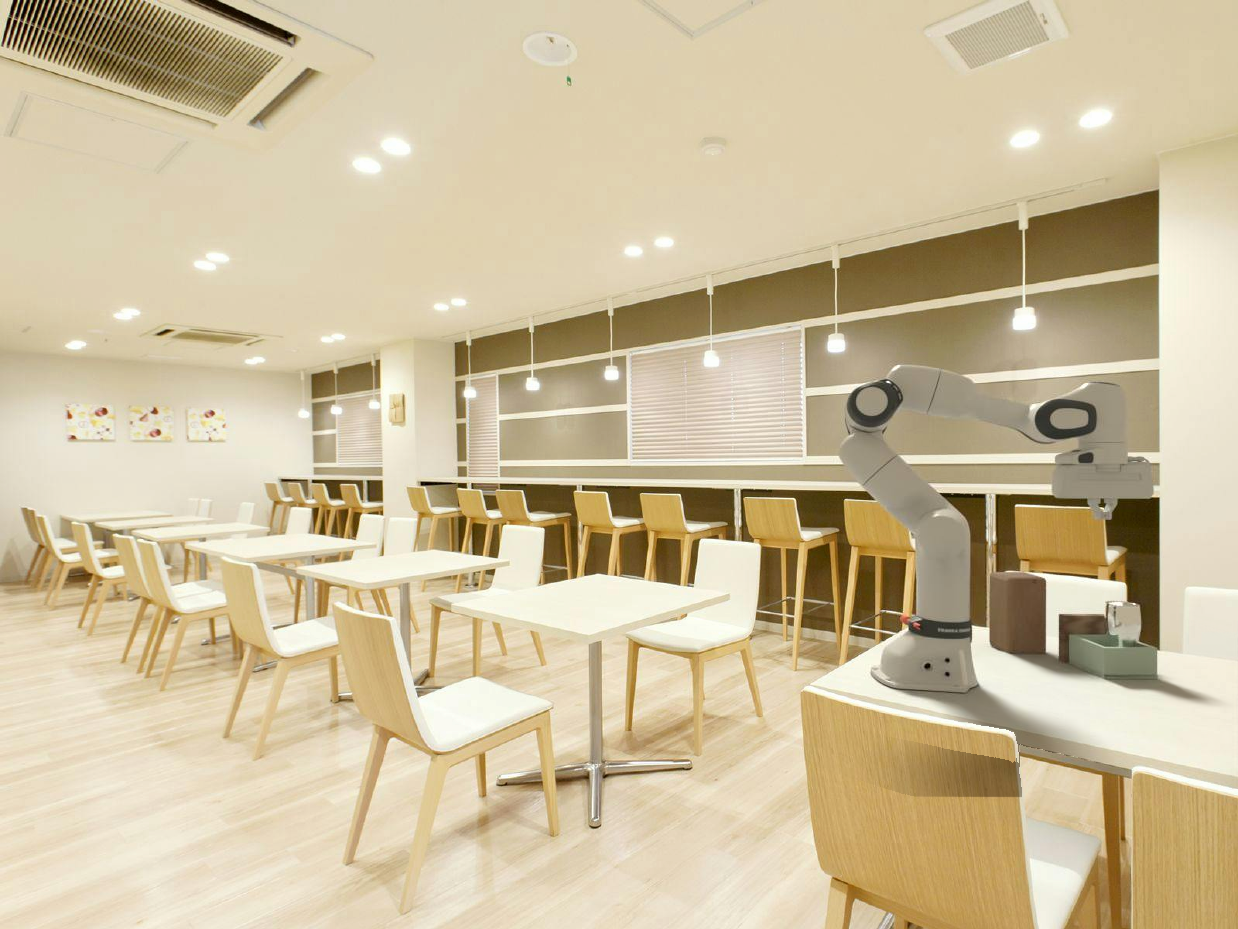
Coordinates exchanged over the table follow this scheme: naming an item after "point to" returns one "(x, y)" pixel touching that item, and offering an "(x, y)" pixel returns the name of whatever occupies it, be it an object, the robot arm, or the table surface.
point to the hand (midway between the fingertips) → (1102, 519)
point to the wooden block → (1017, 612)
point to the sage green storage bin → (1112, 658)
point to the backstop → (1077, 629)
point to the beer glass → (1122, 623)
